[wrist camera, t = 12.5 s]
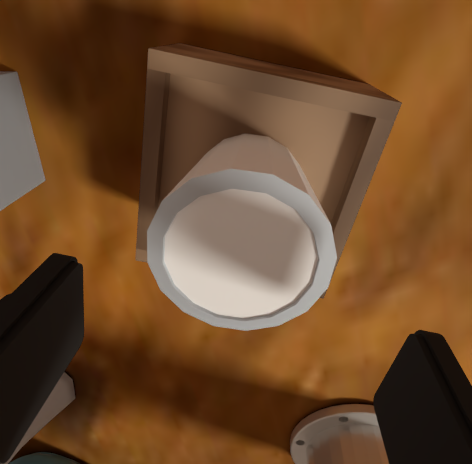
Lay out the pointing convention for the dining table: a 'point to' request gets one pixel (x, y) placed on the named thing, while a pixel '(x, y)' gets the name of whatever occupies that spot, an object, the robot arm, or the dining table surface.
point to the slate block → (16, 143)
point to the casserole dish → (43, 459)
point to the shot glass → (242, 237)
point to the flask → (50, 408)
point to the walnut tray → (260, 126)
